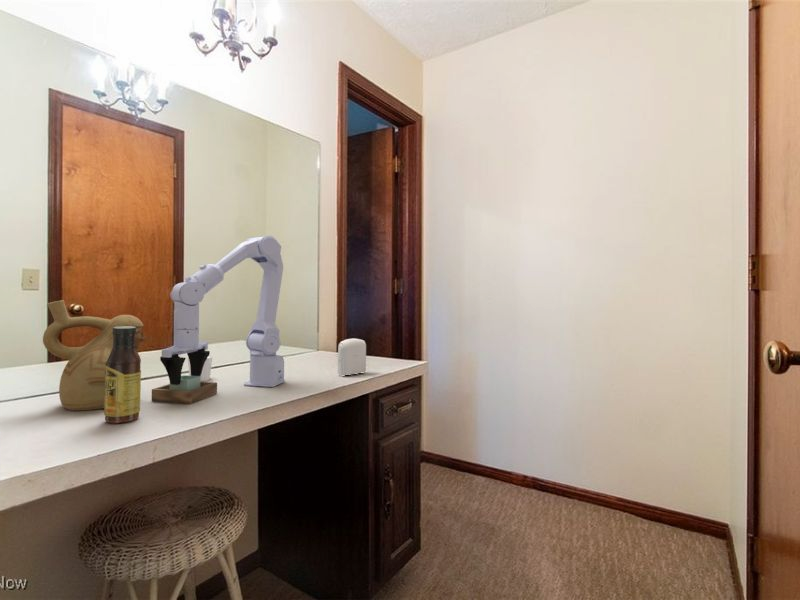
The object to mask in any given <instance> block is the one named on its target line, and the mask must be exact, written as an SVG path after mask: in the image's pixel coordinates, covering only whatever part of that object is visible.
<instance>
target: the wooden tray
mask: <svg viewBox="0 0 800 600" xmlns="http://www.w3.org/2000/svg"><path fill="white" fill-rule="evenodd" d="M217 394H218V382H217V381H216V382H213V381H200V388H197V389H194V390H191V391H182V390H170V383H169V384H166V385H161V386H159V387H155V388H152V389H151V402H155V403H156V402H157V403H169V404H179V405H180V404H182V405H183V404H184V405H191V404H195V403H196V402H200V401H202V400H204V399H206V398H209V397H212V396H215V395H217Z"/></svg>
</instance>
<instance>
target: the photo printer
mask: <svg viewBox="0 0 800 600" xmlns="http://www.w3.org/2000/svg"><path fill="white" fill-rule="evenodd" d="M337 347H338V348H337V375H338V374H339V375H349V374H355V373H361V372H365V371H366V372H367V370H366V369H367V368H366V367H367V344H366V341H365V340H363V339H360V338H355V337H354V338H347V339H344V340H342V341H340V342H339V343H338V346H337ZM366 372H365V373H366ZM339 375H338V376H339Z"/></svg>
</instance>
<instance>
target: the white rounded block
mask: <svg viewBox="0 0 800 600" xmlns="http://www.w3.org/2000/svg"><path fill="white" fill-rule="evenodd" d="M212 365H213V356H210V355H209V356H208V357H207V359H206V361H205V363H204V366H203V369H202V373H201V381H202V382H208V381H209V380H211V374H212V373H211V372H212ZM187 367H188V376H191V368H190V361H189V357H187Z"/></svg>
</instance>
